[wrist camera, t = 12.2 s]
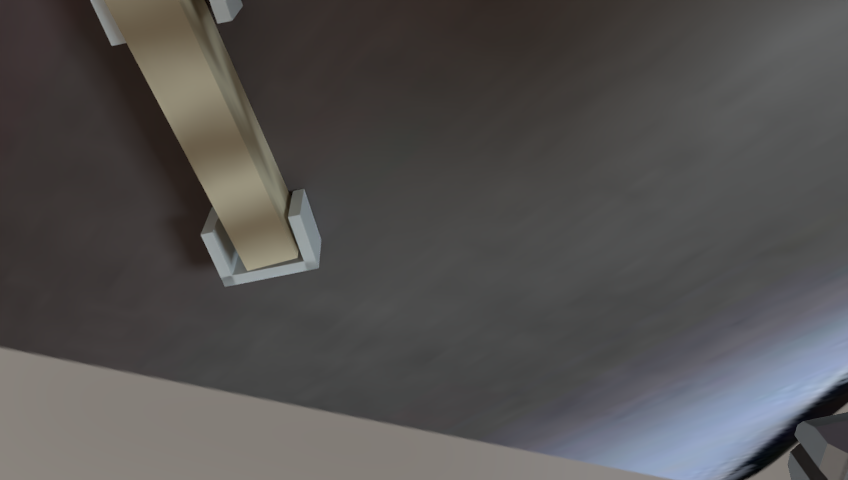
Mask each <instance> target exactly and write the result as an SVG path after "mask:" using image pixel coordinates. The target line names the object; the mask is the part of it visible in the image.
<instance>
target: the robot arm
mask: <svg viewBox="0 0 848 480" xmlns="http://www.w3.org/2000/svg"><path fill="white" fill-rule="evenodd" d="M795 436H796V438H797V439H798V440H799V442H800V444H799V445H797V446H796V447H795V448H794V449H793V450H792V451H791V452H790V456H789V461H788V467H789V472H790V477H791V480H848V412H846V413H842V414H837V415H832V416H827V417H822V418H818V419H813V420H808V421H803V422H802V423H801V424H799V425H798V426H797V429H796V433H795Z"/></svg>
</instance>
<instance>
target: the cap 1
mask: <svg viewBox="0 0 848 480" xmlns="http://www.w3.org/2000/svg"><path fill="white" fill-rule="evenodd" d="M90 1H91V3H92V5H93V7H94V9H95V12H96V14H97V16H98V18H99V20H100V22H101V24H102V26H103V29H104V31H105V33H106V35H107V37H108V39H109V41H110V43H111V46H114V45H119V44H124V43H126V41H125V39H124V37H123V35H122V33H121V32H120V30H119V28H118V26H117V24H116V22H115V20H114V18H113V16H112V15H111V13H110V11H109V9H108V7H107V5H106V3H105V1H104V0H90ZM209 1H210V4H211V7H212V10H213V12H214V15H215V18H216V21H217V23H218V24H219V23H224V22H228V21H232V20H233V19H234V18H235V16H236V15H237V13H238V12H239V11H240V9H241V8H242V7H243V4H242V1H241V0H209Z"/></svg>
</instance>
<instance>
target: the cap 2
mask: <svg viewBox="0 0 848 480" xmlns="http://www.w3.org/2000/svg"><path fill="white" fill-rule="evenodd" d="M288 219H289V222H290V224H291V227H292V230H293V233H294V235H295V238H296V241H297V244H298V246H299V251H298V258H295V259H292V260H288V261H284V262H280V263H276V264H272V265H269V266H265V267H261V268H257V269H253V270H249V271H247V270H246V268H245V266H244V264H243V262H242V260H241V258H240V256H239V254H238V253H237V251H236V249H235V247H234V245H233V243H232V241H231V239H230V237H229V236H228V234H227V232H226V230H225V228H224V226H223V224H222V222H221V220H220V219H219V217H218V215H217V213H216V211H215V209H214V207H212V208H211V210H210V213H209V215H208V218H207V220H206V222H205V225H204V227H203V230H202V232H201V237H202V239H203V241H204V243H205V245H206V247H207V250H208V252H209V254H210V256H211V258H212V260H213V262H214V264H215V267H216V269H217V271H218V273H219V275H220V277H221V279H222V281H223V284H224V286H225V287H227V286H232V285H237V284H242V283H247V282H252V281H257V280H262V279H267V278H272V277H277V276H282V275H287V274H292V273H297V272H302V271H307V270H313V269H318V268H319V260H320V249H321V238H320V235H319V232H318V229H317V226H316V223H315V220H314V217H313V214H312V211H311V208H310V205H309V202H308V199H307V196H306V193H305V190H304V189H300V190H295V191H293V193H292V198H291V203H290V209H289V214H288Z"/></svg>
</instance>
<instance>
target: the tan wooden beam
mask: <svg viewBox="0 0 848 480" xmlns="http://www.w3.org/2000/svg"><path fill="white" fill-rule="evenodd" d="M104 1H105V3H106V5H107V7H108V9H109V11H110V13H111V15H112V16H113V18H114V20H115V22H116V24H117V26H118V28H119V30H120V32H121V33H122V35H123V37H124V39H125V41H126V43H127V45H128V47H129V49H130V50H131V52H132V54H133V56H134V58H135V60H136V62H137V64H138V66H139V67H140V69H141V71H142V73H143V75H144V77H145V79H146V81H147V83H148V84H149V86H150V88H151V90H152V92H153V94H154V96H155V98H156V100H157V101H158V103H159V105H160V107H161V109H162V111H163V113H164V115H165V117H166V118H167V120H168V122H169V124H170V126H171V128H172V130H173V132H174V134H175V135H176V137H177V139H178V141H179V143H180V145H181V147H182V149H183V151H184V152H185V154H186V156H187V158H188V160H189V162H190V164H191V166H192V168H193V169H194V171H195V173H196V175H197V177H198V179H199V181H200V183H201V185H202V186H203V188H204V190H205V192H206V194H207V196H208V198H209V200H210V202H211V203H212V205H213V207H214V209H215V211H216V213H217V215H218V217H219V219H220V220H221V222H222V224H223V226H224V228H225V230H226V232H227V234H228V236H229V237H230V239H231V241H232V243H233V245H234V247H235V249H236V251H237V253H238V254H239V256H240V258H241V260H242V262H243V264H244V266H245V268H246V270H247V271H249V270H253V269H257V268H261V267H265V266H269V265H272V264H276V263H280V262H284V261H288V260H292V259H295V258H298V251H299V246H298V244H297V241H296V238H295V235H294V233H293V230H292V227H291V224H290V222H289V219H288V214H289V209H290V203H291V196H290V194H289V192H288V190H287V187H286V185H285V183H284V180H283V178H282V176H281V174H280V171H279V169H278V167H277V164H276V162H275V160H274V158H273V155H272V153H271V151H270V148H269V146H268V144H267V142H266V139H265V137H264V135H263V132H262V130H261V128H260V126H259V123H258V121H257V119H256V116H255V114H254V112H253V110H252V107H251V105H250V103H249V100H248V98H247V96H246V94H245V91H244V89H243V87H242V84H241V82H240V80H239V78H238V75H237V73H236V71H235V68H234V66H233V64H232V62H231V59H230V57H229V55H228V52H227V50H226V48H225V46H224V43H223V41H222V39H221V36H220V34H219V32H218V30H217V27H216V25H215V23H214V20H213V18H212V16H211V14H210V11H209V9H208V7H207V4H206V2H205V0H104Z"/></svg>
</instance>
